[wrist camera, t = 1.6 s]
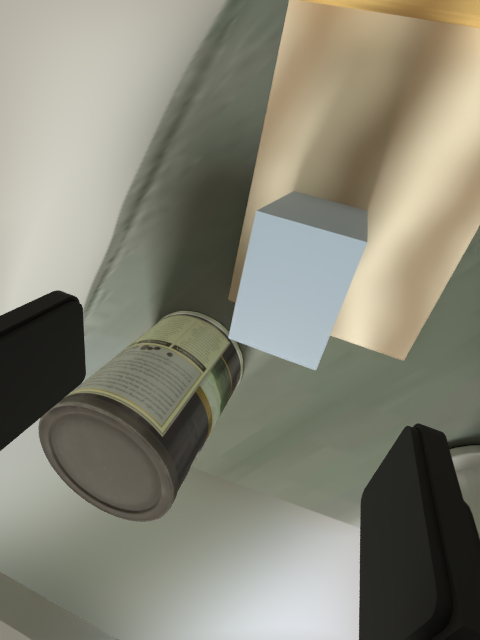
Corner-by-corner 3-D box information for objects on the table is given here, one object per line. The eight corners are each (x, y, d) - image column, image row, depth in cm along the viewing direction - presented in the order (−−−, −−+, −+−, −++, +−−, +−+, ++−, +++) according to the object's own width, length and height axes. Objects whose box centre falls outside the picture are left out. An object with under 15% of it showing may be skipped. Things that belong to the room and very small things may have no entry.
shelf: (582, 21, 16) (624, -5, 14) (401, 350, 27) (405, 373, 24) (300, -19, 19) (289, -47, 16) (233, 293, 29) (220, 307, 27)
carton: (367, 210, 22) (367, 242, 14) (331, 304, 25) (315, 370, 18) (289, 189, 23) (249, 208, 15) (264, 282, 26) (222, 336, 19)
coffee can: (264, 380, 32) (203, 514, 20) (189, 408, 37) (105, 529, 25) (204, 290, 30) (96, 381, 18) (133, 334, 35) (12, 427, 23)
